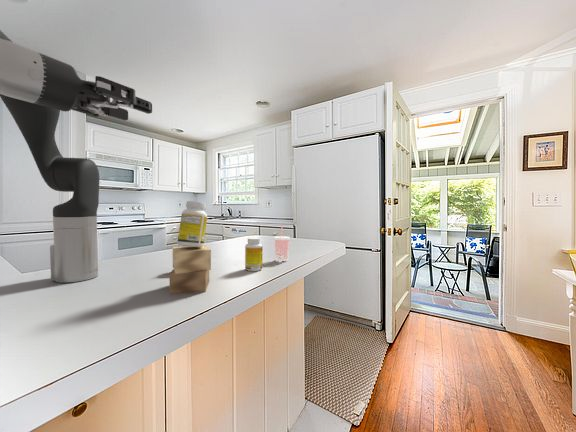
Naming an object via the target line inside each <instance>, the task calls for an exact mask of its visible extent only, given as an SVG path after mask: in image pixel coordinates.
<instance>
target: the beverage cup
mask: <svg viewBox="0 0 576 432" xmlns="http://www.w3.org/2000/svg"><path fill="white" fill-rule="evenodd" d="M280 225H281V227H280V228H281V229H280V232H281V233H280V234H281V235H277V236H273V240H274V255H275V257H274V258H275V261H276V260H277V261H286V260H288V261H289V251H290V249H289V248H290V240H291V237H290V236H289V235H288V236H287V235H286V236H285V235H283V232H284V231H283V229H284V228H283V225H284V224H283V223H281V224H280ZM277 261H276V262H277Z"/></svg>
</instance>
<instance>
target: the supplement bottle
mask: <svg viewBox="0 0 576 432" xmlns="http://www.w3.org/2000/svg"><path fill="white" fill-rule="evenodd" d="M263 249H264V248H263V244H262V243H261V238H260V237H248V238H247V243H246V244H245V246H244V266H245V267H244V268H245V270H246V271H247V270H248V271H247V272H259V271H262V269H263Z"/></svg>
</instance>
